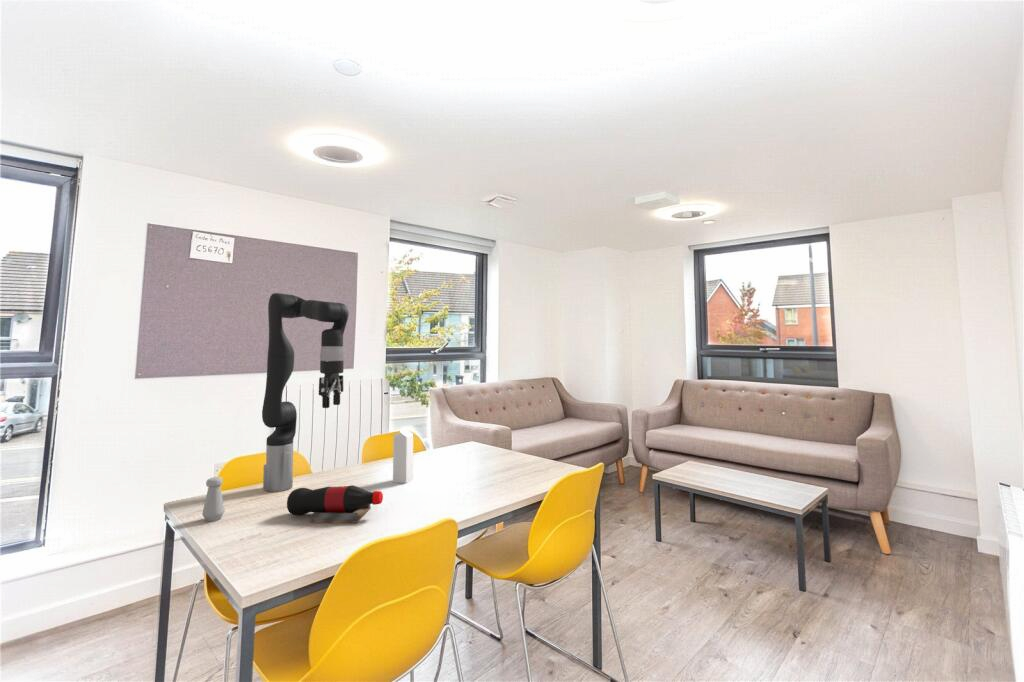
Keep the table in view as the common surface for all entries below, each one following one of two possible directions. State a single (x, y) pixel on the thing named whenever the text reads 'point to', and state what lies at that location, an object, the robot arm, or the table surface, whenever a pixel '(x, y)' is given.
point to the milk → (403, 456)
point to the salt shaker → (213, 500)
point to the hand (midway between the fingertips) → (331, 406)
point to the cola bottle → (331, 500)
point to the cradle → (340, 516)
